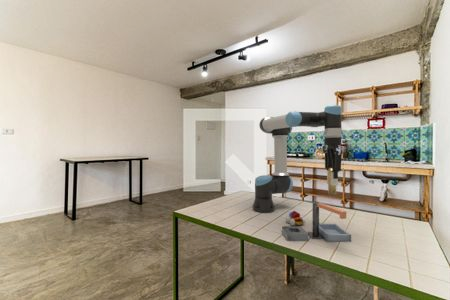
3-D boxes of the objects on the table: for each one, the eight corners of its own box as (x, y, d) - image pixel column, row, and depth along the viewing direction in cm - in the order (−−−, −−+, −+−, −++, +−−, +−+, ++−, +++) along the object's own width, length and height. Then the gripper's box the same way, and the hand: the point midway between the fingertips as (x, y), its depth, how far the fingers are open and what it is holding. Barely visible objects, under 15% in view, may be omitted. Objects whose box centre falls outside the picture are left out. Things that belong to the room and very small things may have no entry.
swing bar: (341, 219, 90) (341, 212, 90) (311, 207, 106) (311, 201, 106) (346, 218, 91) (346, 211, 91) (315, 206, 107) (316, 201, 107)
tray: (315, 229, 113) (315, 223, 113) (335, 229, 113) (335, 223, 113) (327, 241, 99) (327, 234, 99) (351, 241, 99) (351, 234, 99)
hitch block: (281, 232, 111) (281, 226, 111) (301, 232, 111) (301, 226, 110) (287, 240, 101) (287, 234, 101) (308, 240, 101) (308, 234, 100)
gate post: (307, 233, 109) (307, 203, 108) (319, 233, 108) (319, 203, 108) (312, 238, 103) (312, 207, 102) (324, 238, 102) (324, 207, 102)
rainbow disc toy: (293, 227, 116) (293, 214, 116) (283, 221, 126) (283, 209, 126) (306, 226, 119) (306, 213, 119) (296, 220, 128) (296, 208, 128)
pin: (326, 193, 108) (327, 167, 107) (334, 193, 108) (334, 167, 107) (330, 195, 104) (330, 168, 104) (337, 195, 104) (338, 168, 104)
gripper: (317, 137, 113) (317, 181, 114) (333, 136, 97) (333, 187, 97) (332, 137, 113) (331, 181, 114) (350, 136, 97) (349, 187, 97)
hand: (332, 184), depth 106 cm, fingers closed on pin, 4 cm apart
